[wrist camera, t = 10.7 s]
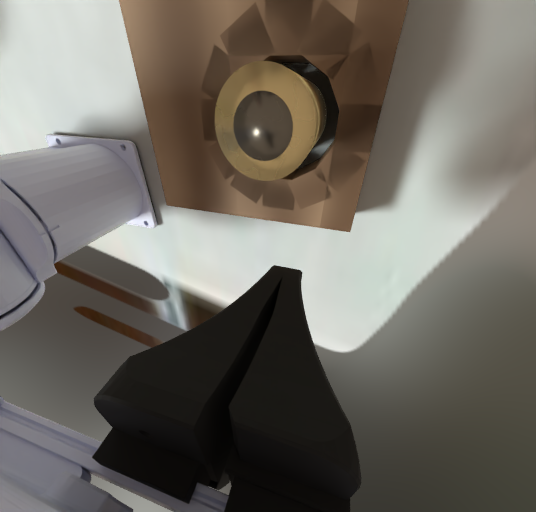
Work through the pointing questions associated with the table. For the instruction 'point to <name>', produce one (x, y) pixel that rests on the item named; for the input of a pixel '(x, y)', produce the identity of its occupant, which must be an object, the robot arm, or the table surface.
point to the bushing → (268, 119)
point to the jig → (244, 52)
